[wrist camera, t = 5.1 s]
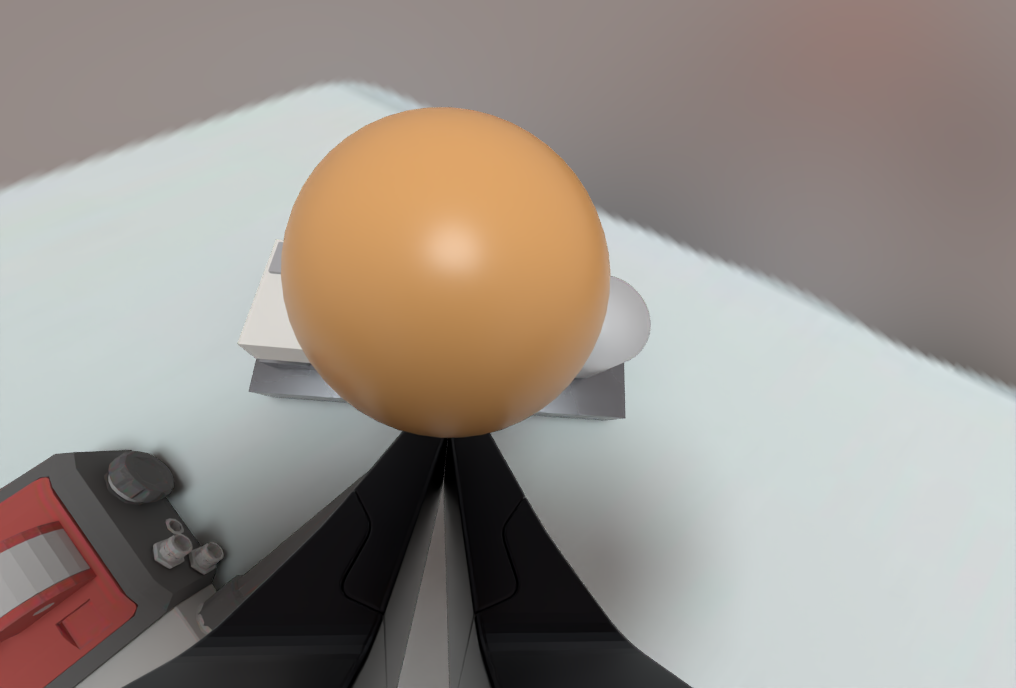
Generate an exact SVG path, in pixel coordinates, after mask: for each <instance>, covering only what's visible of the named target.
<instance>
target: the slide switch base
mask: <svg viewBox="0 0 1016 688" xmlns="http://www.w3.org/2000/svg"><path fill="white" fill-rule="evenodd" d="M249 392H253V393H257V394H262V395H266V396H271V397H279V398H294V399H308V400H322V401H337V402H347V401H345V400H344V399H343V398H341V397H340V396H339V395H338V394H337V393H336V392H335V391H334V390H333V389H332V388H331V387H330V386H329V385H328V384H327V383H326V382H325V381H324V380H323V378H322V377H321V376H320V375H319V373H318V372H317V371H316V370H315V368H314V367H313V366H312V364H311V363H304V362H292V361H280V360H268V359H256V362H255V367H254V371H253V375H252V379H251V383H250V388H249ZM533 415H538V416H553V417H567V418H582V419H596V420H613V419H623V418H625V385H624V363H622V364H619V365H617V366H614V367H612V368H610V369H607V370H605V371H603V372H600V373H598V374H596V375H593V376H591V377H587V378H574V380H573V381H572V382H571V383H570V385H569V386H568V387H567V388H566V389H565V390H564V391H563V392H562V393H561V394H560V395H559V396H558V397H557V398H556V399H555V400H553V401H552V402H551V403H549V404H548V405H547V406H545V407H544V408H543V409H541V410H540V411H539V412H537V413H535V414H533Z"/></svg>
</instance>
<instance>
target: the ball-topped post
mask: <svg viewBox="0 0 1016 688" xmlns="http://www.w3.org/2000/svg"><path fill="white" fill-rule="evenodd" d="M281 282H282V290H283V299H284V303H285V307H286V310H287V314H288V318H289V322H290V324H291V326H292V329H293V331H294V334H295V336H296V338H297V341H298V343H299V345H300V346H301V348H302V350H303V352H304V353H305V355H306V357H307V358H308V360H309V362H310V363H311V364H312V366H313V367H314V368H315V370H316V371H317V372H318V373H319V375H320V376H321V377H322V378H323V380H324V381H325V382H326V383H327V384H328V385H329V386H330V387H331V388H332V389H333V390H334V391H335V392H336V393H337V394H338V395H339V396H340V397H341V398H343V399H344V400H345V401H347V402H348V403H349V404H351V405H352V406H353V407H355V408H356V409H357V410H359V411H360V412H362V413H364V414H365V415H367V416H369V417H371V418H373V419H374V420H376V421H378V422H380V423H383V424H385V425H388V426H390V427H393V428H395V429H398V430H401V431H405V432H409V433H413V434H417V435H422V436H430V437H439V438H462V437H470V436H477V435H483V434H487V433H491V432H494V431H498V430H502V429H504V428H507V427H509V426H512V425H514V424H516V423H519V422H521V421H523V420H525V419H526V418H528V417H530V416H532V415H533V414H535V413H537V412H539V411H540V410H541V409H543V408H544V407H545V406H547V405H548V404H549V403H551V402H552V401H553V400H555V399H556V398H557V397H558V396H559V395H560V394H561V393H562V392H563V391H564V390H565V389H566V388H567V387H568V386H569V385H570V383H571V382H572V381H573V380H574V378H575V377H576V376H577V374H578V373H579V372H580V371H581V369H582V368H583V366H584V364H585V363H586V361H587V359H588V358H589V356H590V354H591V353H592V351H593V349H594V347H595V344H596V342H597V340H598V337H599V335H600V333H601V330H602V326H603V323H604V320H605V316H606V313H607V306H608V300H609V294H610V263H609V252H608V248H607V243H606V239H605V234H604V231H603V228H602V225H601V222H600V219H599V216H598V214H597V211H596V209H595V207H594V205H593V203H592V201H591V199H590V197H589V195H588V193H587V191H586V189H585V188H584V186H583V185H582V183H581V182H580V180H579V179H578V177H577V176H576V175H575V173H574V172H573V171H572V170H571V168H570V167H569V166H568V165H567V164H566V163H565V161H564V160H563V159H562V158H561V157H560V156H559V155H557V154H556V153H555V152H554V151H553V150H552V149H551V148H550V147H549V146H548V145H547V144H545V143H544V142H542V141H541V140H539V139H538V138H537V137H535V136H534V135H532V134H531V133H530V132H528V131H526V130H524V129H522V128H520V127H519V126H517V125H515V124H513V123H511V122H508V121H506V120H503V119H501V118H498V117H496V116H493V115H490V114H486V113H482V112H478V111H474V110H467V109H460V108H451V107H439V108H438V107H437V108H422V109H415V110H408V111H404V112H400V113H397V114H394V115H390V116H387V117H384V118H382V119H379V120H377V121H375V122H373V123H370V124H368V125H366V126H364V127H363V128H361V129H359V130H358V131H356V132H355V133H353V134H351V135H350V136H348V137H347V138H345V139H344V140H343V141H342V142H341V143H339V144H338V145H337V146H336V147H335V148H333V149H332V150H331V151H330V152H329V153H328V154H327V155H326V156H325V157H324V159H323V160H322V161H321V162H320V163H319V164H318V165H317V166H316V167H315V169H314V170H313V172H312V173H311V175H310V176H309V178H308V179H307V181H306V182H305V184H304V185H303V187H302V189H301V191H300V193H299V195H298V197H297V199H296V201H295V203H294V205H293V208H292V211H291V214H290V217H289V221H288V224H287V227H286V230H285V235H284V241H283V247H282V253H281Z"/></svg>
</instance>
